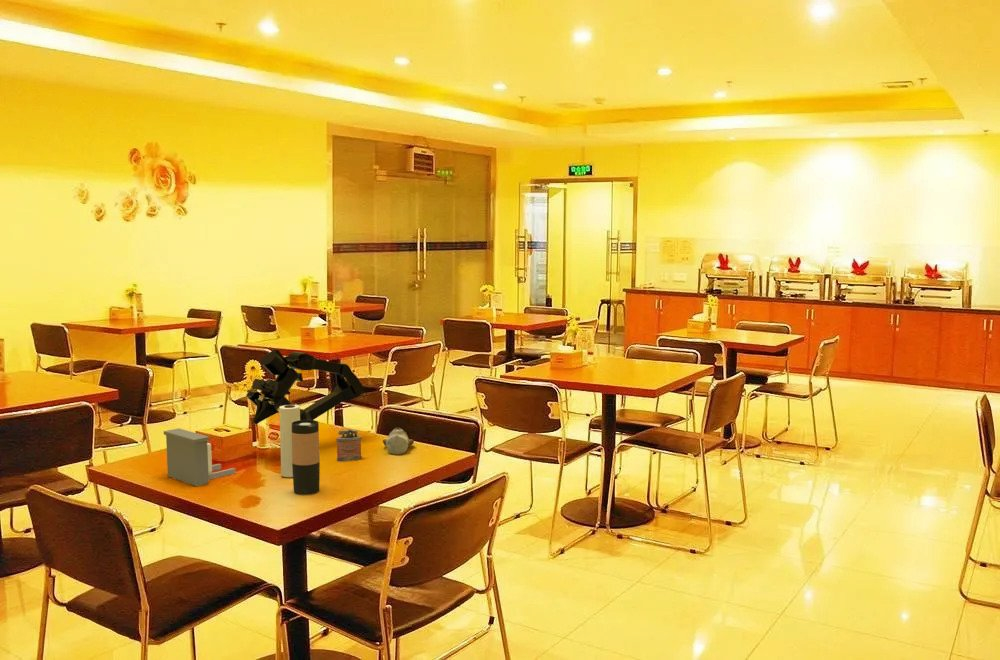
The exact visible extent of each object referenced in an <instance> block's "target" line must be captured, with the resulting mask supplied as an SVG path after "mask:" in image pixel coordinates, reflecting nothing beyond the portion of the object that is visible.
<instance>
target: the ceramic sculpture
mask: <svg viewBox="0 0 1000 660" xmlns="http://www.w3.org/2000/svg"><path fill="white" fill-rule="evenodd" d="M414 442H415V440H414V439H412V438H411V439H410V438H409V435H408V434H407V432H406V431H405V430H404V429H403V428H401V427H400V426H396V427H395V428H394V429H393V430H391V431H390V432H389V434H388V435H387V438H386V439H383V440H382V444H383V445H384V446H385V447H386V449H387V451H388V452H389V453H390V454H392V455H395V454H399V455H402V454H405V453H406V451H407V450H408V448H409V447H412V445H413V444H414Z"/></svg>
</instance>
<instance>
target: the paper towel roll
mask: <svg viewBox="0 0 1000 660" xmlns="http://www.w3.org/2000/svg"><path fill="white" fill-rule="evenodd" d="M300 409H301V408H300V405H299V404H297V403H295V404H293V405H284V406H281V407H280V408H279V440H280V442H279V443H280V447H279V448H280V473H281V474H280V475H281V477H284V478H293V469H292V422H295V421H299V420H300Z"/></svg>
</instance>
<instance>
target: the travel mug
mask: <svg viewBox="0 0 1000 660" xmlns="http://www.w3.org/2000/svg"><path fill="white" fill-rule="evenodd" d="M319 425H320V424H319V420H318V421H317V420H315V419H314V420H299V421H295V422H292V469H293V477H292V483H293V493H294V494H295V495H299V496H308V495H309V496H310V495H315V494H317V493H319V492H320V475H321V473H320V468H321V467H320V466H321V463H320V461H321V460H320V459H321V458H320V431H319V429H320V428H319V427H320V426H319Z"/></svg>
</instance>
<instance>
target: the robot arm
mask: <svg viewBox="0 0 1000 660" xmlns="http://www.w3.org/2000/svg"><path fill="white" fill-rule="evenodd" d="M260 364H261V365H262V367H264V368H265V370H267V371H268V372H269V373H270V374H271V375H272V376H276V377H275V379H270V378H267V379H266V380H263V379H260V378H259V379H258V378H254V379H253V382H252V385H251V389H254V390H249V391H248V392H247V393H246V395H245V397H246V398H247V399H248V400H249V401H250V402H252V403H253V404H254V406H256V409H255V410H256V411H255V414H254V417H253V421H252V422H253V424H254V425H257V424H259V423H261V422H263V421H264V420H267V419H268V418H270V417H272V416H274V415H276V414H280V407H281V406H284V405H294V404H293V403H292V402H291V401H290V400H288V398H287V397H286V396H290V395H291V391H290V390H291V388H292V387H293V385H294V384H295V383H296V382H301V383H303V381H304V379H303V374H302V372H298V371H297V370H299V371H315V370H317V371H322V372H327V373H331V374H334V376H335V383H336V386H335V388H334V390H333V391H331V392H330V393H328V394H327V395H325V396H323V397H322V398H320V399H318V400H317V401H315V402H314V403H312V404H310V405H309V406H307V407H305V408H304V409H302V408H300V420H315V419H317V418H319V417H321V416H322V415H324V414H326V413H327V412H328V411H330V410H332V409H333V408H335V407H336V406H338V405H340V404H341V403H343V402H347V401H353V400H355V399H357V398H360V397H361V396H362V395H363V389H364V388H363V384H362V382H361V381H360V379H359V377H357V375H356V374H355V373H354V372H353V371H352V369H351V368H350V366H349V365H348V364H347V363H342V362H334V361H329V360H324V359H320V358H317V357H315V356H314V355H312V354H309V353H306V352H301V351H291V352H290V353H289V354H288V355H286V356H285V355H283V354H282V353H281V351H280V350H279V349H276V348H274V349H272V350H271V351H270V352H268V353H266V354H265V355H264V356H263V357H262V358H261V360H260ZM256 390H257V391H256ZM259 391H260V392H259Z"/></svg>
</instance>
